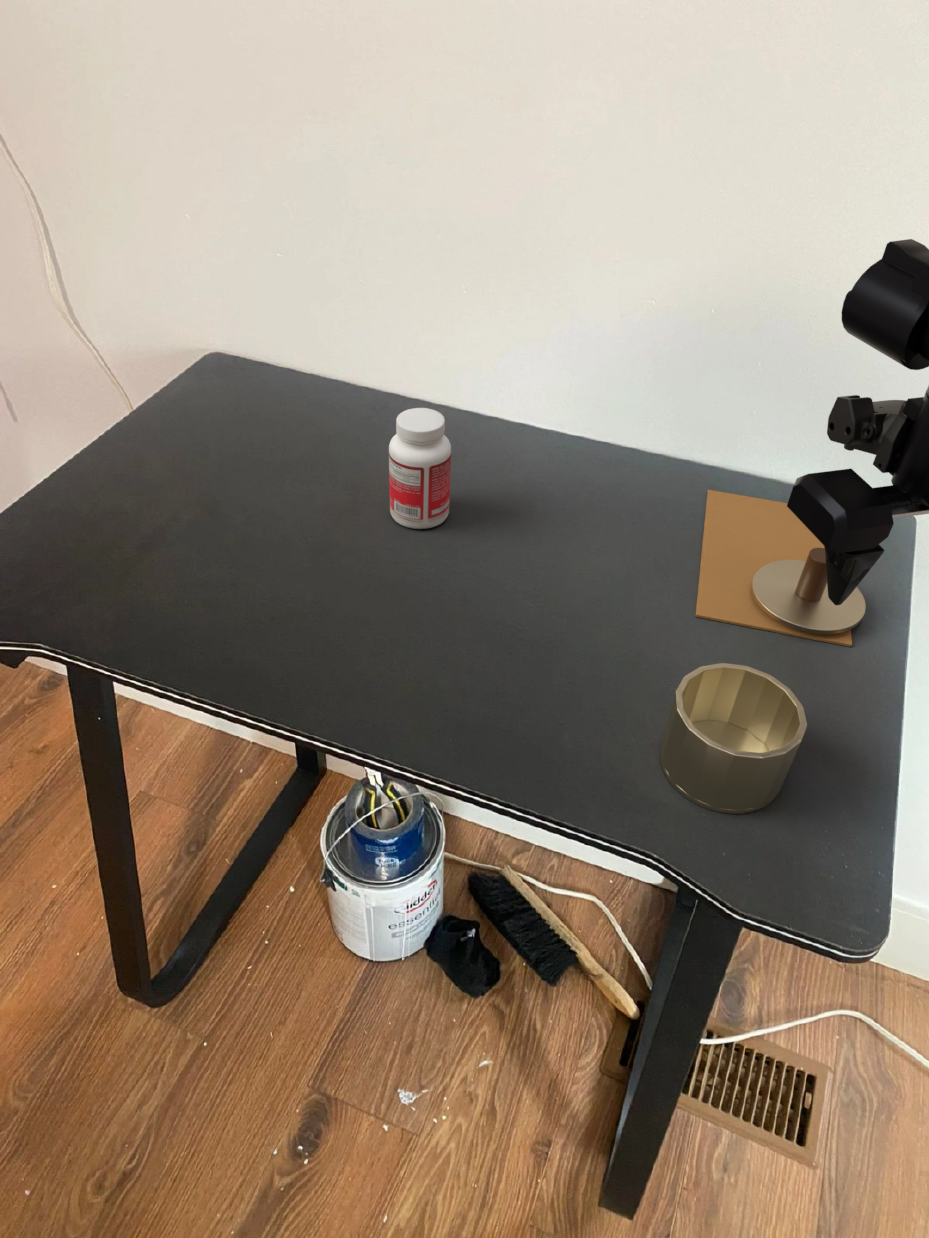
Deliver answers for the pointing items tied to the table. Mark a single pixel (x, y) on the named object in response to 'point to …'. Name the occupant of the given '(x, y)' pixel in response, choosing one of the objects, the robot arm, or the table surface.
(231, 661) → the table surface
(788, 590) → the lid
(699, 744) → the pot
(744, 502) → the mat
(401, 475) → the pill bottle
